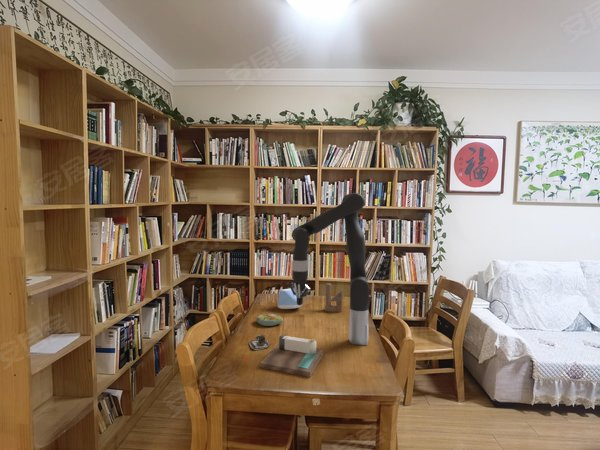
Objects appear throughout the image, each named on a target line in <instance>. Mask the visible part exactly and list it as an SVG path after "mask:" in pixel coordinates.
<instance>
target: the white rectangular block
mask: <svg viewBox="0 0 600 450" xmlns="http://www.w3.org/2000/svg"><path fill="white" fill-rule="evenodd" d="M278 344H279V348H280V349H282V350H291V351H297V352H303V353H309V354H316V349H317V340H315V338H310V339H308V338H302V337H296V336H295V337H294V336H290V335H283V334H282V335H279V337H278Z"/></svg>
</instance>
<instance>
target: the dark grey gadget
mask: <svg viewBox="0 0 600 450" xmlns="http://www.w3.org/2000/svg"><path fill="white" fill-rule="evenodd" d="M249 346H250V348H251V349H252V350H254V351H259V350H260V351H261V350H264V349H267V348H269V347H270V342H269V340H268V339H266V336H265V334H257V335H255V339H253V340H250V341H249Z"/></svg>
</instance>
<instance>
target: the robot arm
mask: <svg viewBox="0 0 600 450" xmlns="http://www.w3.org/2000/svg"><path fill="white" fill-rule="evenodd" d="M365 200H366V199H365V197H364V196H363V195H362V194H360V193H358V192H351V193H348V194H346V195H344V196H343V197H342V199H341V203H340V204H339V205H337V206H335V207H333V208H330V209H329V210H326V211H324V212H323V213H321V214H319V215H317V216H315V217H313V218H312V219H311V220H309V221H307V222H305V223H303V224H301V225H299V226H297V227H295V228H294V229H292V232H291V237H292V239H293V241H294V247H293V250H292V264H291V266H292V267H291V269H292V270H291V273H292V274H291V279H292V282H291V283H289V284H288V286H289V289H290V288H291V290H292V292H293V295H296V297H297V305H302V306H303V305H304V304H303V303H304V302H303V301H304V297H307V295H308V294H309V292H311V290H312V288H311V287H309V286H308V281H307V280H308V278H309V277H308V276H309V272H308V271H309V261H308V250H309V244H310V236H312V235H315V234H319V233H321V232H322V231H324V230H325V229H327V228H328V227H329V226H331V225H333V224H334V223H337V222H338V221H339V220H341V219H343V218H344V227H345V228H344V229H345V242H346V252H347V253H346V254H347V258H348V261H349V267H350V270H349V271H350V281H349V286H350V287H349V291H350V293H349V297H350V298H349V335H348V337H349V339H348V340H349V343H350V344H352V345H356V346H357V345H358V346H368V344H369V330H370V329H369V327H370V326H369V325H370V323H369V305H370V285H369V282H368V278H367V274H366V268H365V267H366V266H365V263H366V239H365V238H366V237H365V235H364V232H363V230H362V227H361V224H360V221H359V211H361V210H362V209H363V208H364V207H365V204H366V202H365ZM294 290H295V291H294Z"/></svg>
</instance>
